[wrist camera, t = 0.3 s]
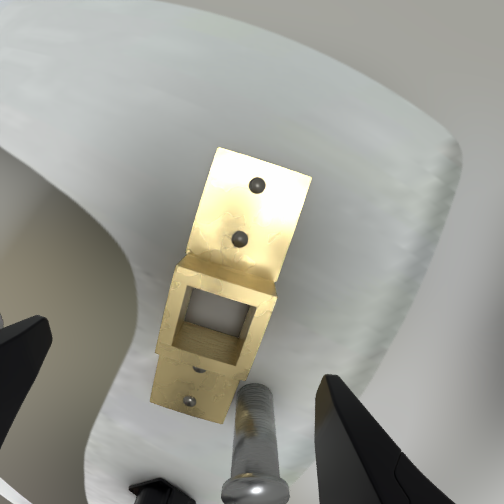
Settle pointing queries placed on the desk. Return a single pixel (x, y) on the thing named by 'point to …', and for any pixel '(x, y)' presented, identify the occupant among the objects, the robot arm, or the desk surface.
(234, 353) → the brass socket plate
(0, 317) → the photo printer
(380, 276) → the desk surface
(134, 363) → the desk surface
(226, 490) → the hinge pin
